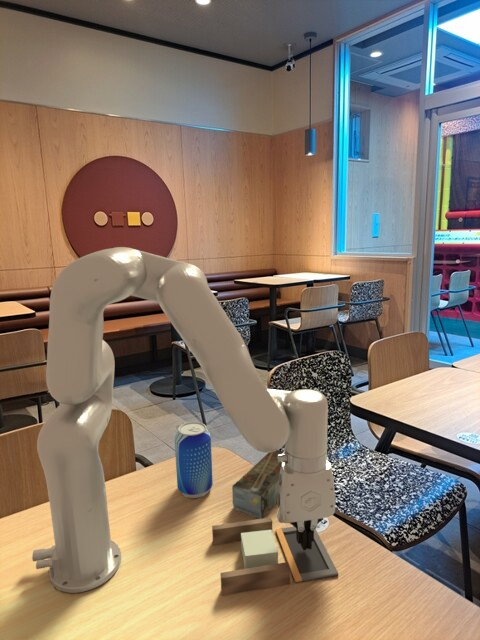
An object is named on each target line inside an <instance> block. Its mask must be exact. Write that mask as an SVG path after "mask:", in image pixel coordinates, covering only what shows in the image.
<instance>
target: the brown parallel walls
mask: <svg viewBox="0 0 480 640" xmlns="http://www.w3.org/2000/svg"><path fill="white" fill-rule="evenodd" d="M264 530H272V531H273V520H272V517H266V518H265V517H263V518H262V519H260V518H256V519H249V520H244V521H238V522H235V521H234V522H230V523H223V524H217V525H212V526H211V531H212V544H213V546H217V545H223V544H225V545H226V544H230V543H232V544H233V543H238V542H241V533H246V532H255V531H264ZM290 584H291V571H290V566H289V564H288V562H287V561H285V562H280V563H279V562H278V564H272V565H266V566H260V567H253V568H247V569H245V568H242V569H237V570H236V569H234V570H230V571H229V570H228V571H224V572H223V571H222V572H220V591H221V596H229V595H234V594H239V593H247V592H251V591H257V590H262V589H263V590H264V589H268V588H275V587H276V588H277V587H281V586H287V585H290Z"/></svg>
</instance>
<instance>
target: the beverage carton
mask: <svg viewBox="0 0 480 640" xmlns="http://www.w3.org/2000/svg"><path fill="white" fill-rule="evenodd" d="M283 452H284V451H281V450H277V451H275V452H268V453H267V454H265V455H264V456H263V457H262V458H261V459H260V460H259V461H258V462H257V463H256V464H254V466H252V467H251V468H250V469H249V470H248V471H247V472H246V473H245V474H244V475H243V476H242V477H241V478H240V479H239V480H237V481H236V482H235V483H234V484H233V485H232V486H231V487H232V488H231V489H232V491H231V492H232V504H233V509H234V510H237V511H239V512H241V513H244V514H247V515H249V516H252V517H255V518H256V519H264V518H265V516H266V515H267V514H268V512H269V511H270V510H271V509H272V508H273V507H274V506H275V505H276V504H277V493H278V481H279V475H280V470H281V465H282V462H278V458H277V455H279V454H282V453H283Z"/></svg>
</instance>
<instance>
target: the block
mask: <svg viewBox="0 0 480 640" xmlns="http://www.w3.org/2000/svg"><path fill="white" fill-rule="evenodd" d="M240 548H241V549H240V550H241V551H240V552H241V555H242V560H243V566H244V567H243V569H247V568H253V567H260V566H266V565H272V564H278V563H279V551H278V547H277V545H276V540H275V537H274V534H273V529H272V530H264V531H255V532H246V533H241V541H240Z"/></svg>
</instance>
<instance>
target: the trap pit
mask: <svg viewBox="0 0 480 640" xmlns="http://www.w3.org/2000/svg"><path fill="white" fill-rule="evenodd" d="M275 534H276V536H277V539H278V542H279V545H280V547H281V549H282V552H283V555H284V557H285V561H286V562H288V564H289V566H290V574H291V575H292V577H293V580H294V583H295V584H297V583H298V584H299V583H303V582H304V583H305V582H309V581H316V580H323V579H327V578H328V579H329V578H333V577H334V578H335V577H339V572H338V569H337V568H336V566H335V563H334V562H333V560H332V558H331V556H330V554H329V552H328V550H327V549H326V546H325V545H324V542H323V541H322V539H321V537H320V535H319V533H318V531H317V528H316V529H315V530H314V541H313V542H312V549H306V550H303V549H302V546H301V544H298V542H297V539H296V528H295V527H294V526H288V527H282V528H276V529H275Z"/></svg>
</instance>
